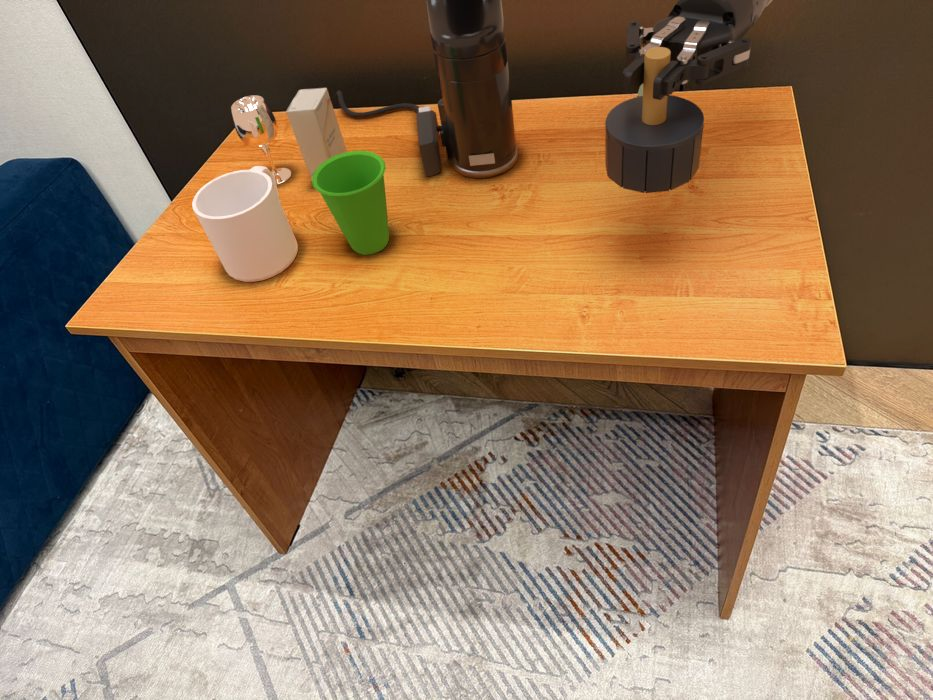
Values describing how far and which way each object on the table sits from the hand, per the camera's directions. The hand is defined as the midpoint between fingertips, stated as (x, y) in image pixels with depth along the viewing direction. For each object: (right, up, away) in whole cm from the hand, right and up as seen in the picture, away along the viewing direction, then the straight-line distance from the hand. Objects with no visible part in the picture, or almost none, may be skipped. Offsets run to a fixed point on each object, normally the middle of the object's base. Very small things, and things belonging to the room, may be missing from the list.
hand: (642, 87), depth 66 cm
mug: (-44, -12, +27) cm, 53 cm away
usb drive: (-24, +6, +36) cm, 43 cm away
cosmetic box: (-37, +1, +38) cm, 53 cm away
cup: (-29, -11, +25) cm, 40 cm away
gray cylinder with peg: (+3, -5, +9) cm, 11 cm away
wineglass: (-45, +1, +39) cm, 60 cm away
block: (+10, +10, +36) cm, 39 cm away
